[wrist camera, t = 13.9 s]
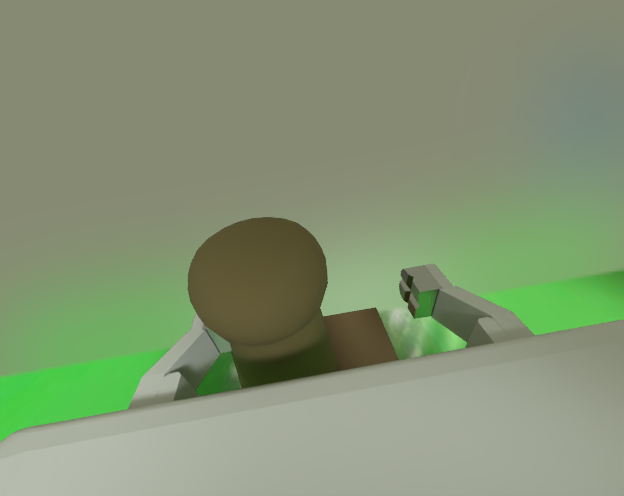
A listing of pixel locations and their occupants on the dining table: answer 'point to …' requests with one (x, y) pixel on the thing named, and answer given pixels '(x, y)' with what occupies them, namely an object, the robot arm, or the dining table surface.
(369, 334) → the walnut block
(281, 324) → the cork
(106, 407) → the dining table surface
